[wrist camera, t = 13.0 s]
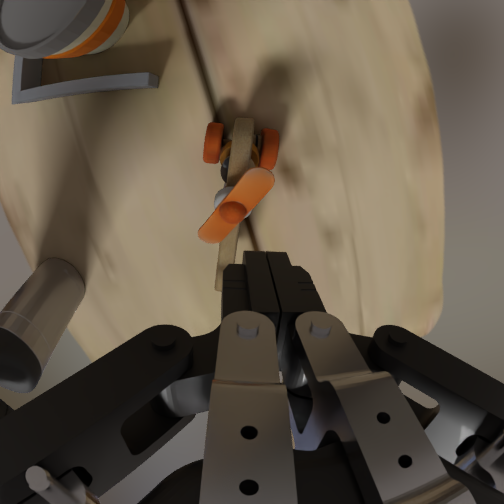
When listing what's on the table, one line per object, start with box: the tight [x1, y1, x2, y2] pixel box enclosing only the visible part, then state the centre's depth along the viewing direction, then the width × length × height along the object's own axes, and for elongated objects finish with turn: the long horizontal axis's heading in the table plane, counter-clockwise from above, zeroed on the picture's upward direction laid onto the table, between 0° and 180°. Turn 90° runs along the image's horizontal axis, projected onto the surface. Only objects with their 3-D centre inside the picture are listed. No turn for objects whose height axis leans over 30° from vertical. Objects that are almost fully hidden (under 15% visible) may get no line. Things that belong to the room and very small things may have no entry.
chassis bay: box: [12, 55, 159, 104], centre depth 24 cm, size 19×20×6 cm
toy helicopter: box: [198, 117, 279, 292], centre depth 33 cm, size 8×21×14 cm, turn 172°
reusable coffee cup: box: [0, 0, 129, 59], centre depth 20 cm, size 13×12×15 cm
